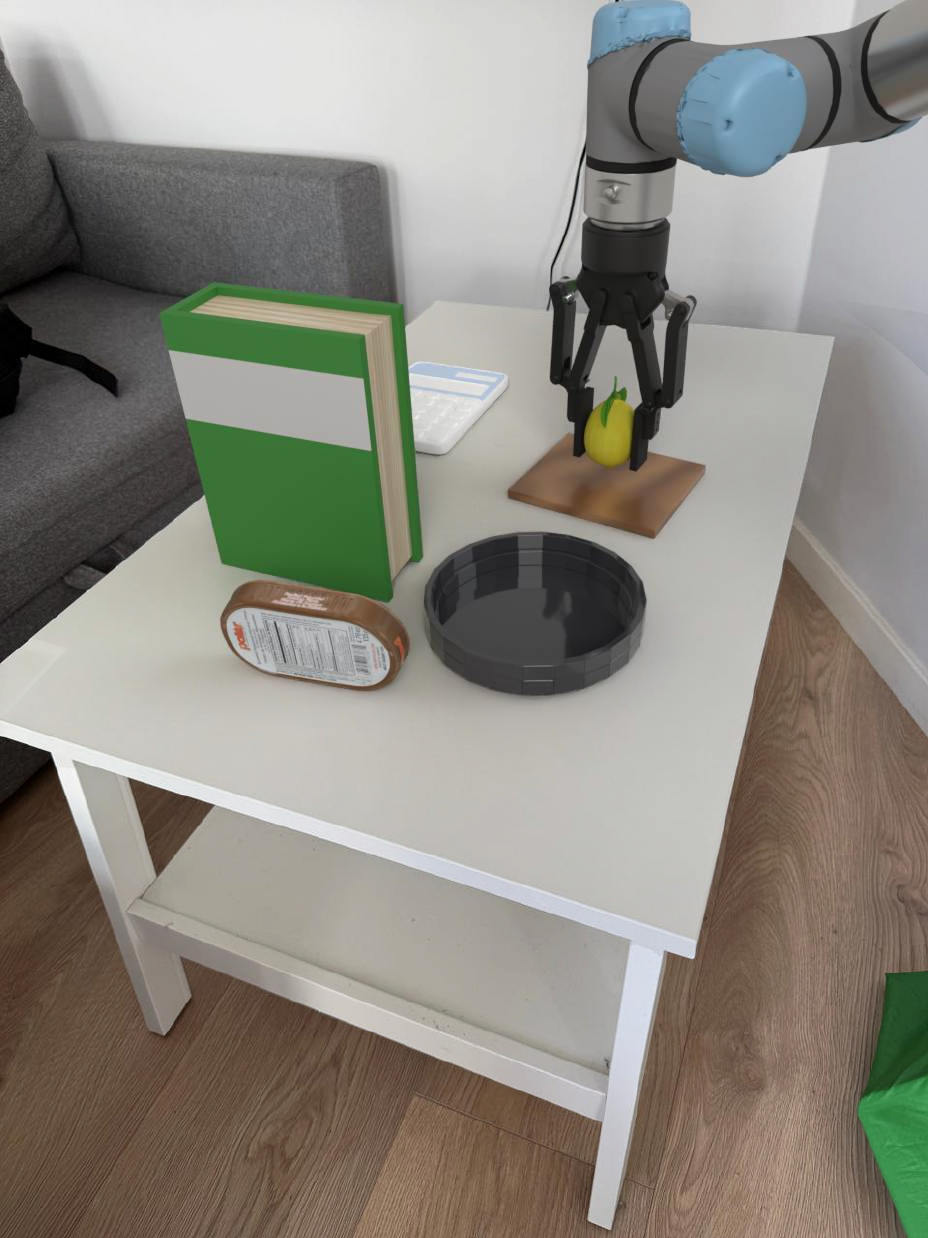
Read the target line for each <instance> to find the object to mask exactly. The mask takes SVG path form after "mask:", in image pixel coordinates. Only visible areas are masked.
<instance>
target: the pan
mask: <svg viewBox="0 0 928 1238" xmlns="http://www.w3.org/2000/svg"><path fill="white" fill-rule="evenodd" d="M647 601H648V600H647V594H646V590H645V584H644V582H643V580H642V579H641V577H640V575H639V574H638V572H637V571H636V570H635V568H634V567H633V565H632V564H630V563H629V562H628V561H627V560H625V559H624V558H623V557H622V556H620V555H619V554H618V553H616V552H615V551H614V550H611V549H609V548H607V547H606V546H603V545H602V544H600V543H597V542H595V541H592V540H588V539H585V538H582V537H577V536H575V535H571V534H566V533H557V532H550V531H515V532H509V533H503V534H498V535H491V536H488V537H486V538H483V539H480V540H477V541H475V542H471V543H468V544H466V545H464V546H463V547H461V548H459V549H458V550H456V551H454V552H453V553H451V554H449V555H447V556H446V558H444V559H443V561H441V562H440V563H439V564H438V565H437V566H436V567H435V568H434V569H433V570H432V572H431V575H430V576H429V578H428V580H427V582H426V584H425V586H424V594H423V612H424V613H423V615H424V624H425V625H424V627H425V633H426V637H427V638H428V642H429V645H430V648H431V650H432V651H433V652H434V653H435V655H436V656H437V657H438V658H439V660H441V662H442V663H443V664H444V666H445V667H447V668H448V669H450V670H451V671H453V672H454V673H456V674H458V675H459V676H460V677H461V678H463V679H465V680H466V681H469V682H471V683H473V684H477V685H479V686H481V687H484V688H486V689H490V690H492V691H496V692H500V693H504V694H509V695H510V694H511V695H517V696H533V697H535V696H537V697H539V696H553V695H561V694H567V693H572V692H575V691H579V690H582V689H586V688H587V687H590V686H593V685H595V684H598V683H599V682H602V681H604V680H607V679H609V678H611V677H612V676H613V675H615V673H617V672H618V671H620V670H622V668H624V667H625V666H626V665H627V664H629V662H630V661H631V659H632V658H633V657H634V655H635V654H636V652H637V651H638V650H639V648H640V646H641V644H642V638H643V633H644V628H645V621H646V610H647Z"/></svg>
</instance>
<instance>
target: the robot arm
mask: <svg viewBox="0 0 928 1238" xmlns="http://www.w3.org/2000/svg"><path fill="white" fill-rule="evenodd" d="M691 14H692V13H691V9H690V8H689V7H688V5H687V4H686V3H684V2H683V1H679V0H621V1H614V2H610V3H606V4H604V5H602V6H601V7H600V8H598V10H597V11H596V12H595V14H594V16H593V19H592V26H591V36H590V37H591V38H590V51H589V58H588V59H587V64H586V70H587V87H586V88H587V91H586V92H587V93H586V123H585V124H586V125H585V127H586V128H585V129H586V131H585V167H584V186H583V187H584V188H583V206H582V207H583V208H582V211H583V213H584V214H585V215H586V217H587V218H585V220H584V221H583V222H582V227H581V250H580V251H581V252H580V261H581V268H580V270H579V272H578V274H577V276H575V277H570V276H568V275H563V276H562V277H560V278H559V279H557V280H556V281H555V282H552V284H550V285H549V286H548V287H549V288H548V291H549V296H550V297H549V298H550V300H551V304H552V308H553V315H552V328H551V329H552V333H551V347H550V365H549V381H550V383H551V384H552V385H554V386H558V385H559V386H560V387H563V388H564V389H565V390H566V394H567V403H566V419H567V421H568V422H569V423H573V427H574V428H573V434H574V445H573V456H575V457H579V458H580V457H581V456H582V455H583V454H584V453H585V452H586V449H585V445H584V432H585V427H586V424H587V421H588V418H589V416H590V414H591V412H592V411H593V410H594V401H595V399H594V397H595V387H592V386H586V385H587V384H588V383H589V382H590V380H591V379H590V375H591V372H592V370H593V367H594V363H595V360H596V358H597V355H598V353H599V350H600V346H601V343H602V341H603V338H604V335H605V332H606V329H607V327H609V326H615V327H618V328H620V329H622V330H625V332H626V338H627V340H628V342H630V346H631V351H632V357H633V361H634V366H635V372H636V377H637V382H638V389H639V394H640V398H641V399H640V400H641V402H640V403H639V404H638V405H637V406H636V408H634V421H633V432H632V444H631V456H630V467H629V470H632V471H637V470H638V469H639V468H640V467H641V466H642V465H643V464H644V462H645V461H646V460H647V453H648V452H649V441H652V440H653V439H654V438H655V437H656V436H657V434H658V433H659V431H660V423H661V421H660V420H661V414H662V409H663V408H665V409H667V410H668V409H671V408H673V407H674V406H675V405H676V404H677V403H678V401H679V400H680V399H681V398H682V397H683V395H684V388H685V387H684V386H685V373H686V372H685V371H686V359H687V349H688V335H689V324H690V320H691V318H692V316H693V313H694V311H695V309H696V307H697V304H698V300H697V298H696V297H695V296H694V295H693V294H689V295H686V296H685V297H684V296H682V295H681V294H678V293H676V292H674V291H673V290H671V289H670V285H669V282H668V280H667V279H668V278H667V274H666V269H667V263H668V253H669V246H670V245H669V244H670V234H671V223H670V222H669V219H668V218H667V217H669V215H671V214H672V212H673V205H674V204H673V203H674V194H675V183H676V170H677V162H678V160H680V161H683V162H685V163H688V164H691V165H695V166H697V167H699V168H700V169H702V170H703V171H707V172H708V171H709V172H710V173H711V174H714V175H720V176H726V175H727V176H728V175H729V176H735V177H738V178H753V177H758V176H761V175H764V174H765V173H767V172H768V171H770V170H771V169H772V168H773V167H774V166H775V165H776V164H777V163H779V162H781V161H782V160H784V159H786V157H787V156H788V155H790V154H795V153H800V152H806V151H808V150H813V149H820V148H827V147H834V146H839V145H844V144H852V143H861V144H862V143H863V144H864V143H871V142H875V141H878V140H882V139H885V138H888V137H891V136H893V135H897V134H901V133H904V132H905V131H908V130H909V129H911V128H913V127H914V126H915V125H917V124H918V123H919V121H920V120H921V119H922V118H923V117H926V116H928V0H903V1H901V2H899V3H898V4H895V5H893V7H892V8H890V9H888V10H886V11H883V12H881V13H879V14H877V15H875V16H873V17H871V18H869V19H867V20H865V21H863V22H861V23H859V24H857V25H855V26H853V27H850V28H848V29H844V30H840V31H834V32H829V33H820V34H813V35H803V36H797V37H796V36H795V37H790V38H787V37H786V38H779V39H770V40H769V39H768V40H761V41H753V42H746V43H745V42H744V43H738V44H714V43H707V42H699V41H694V40H692V35H693V33H692V29H691V27H692V25H691V24H692V23H691V22H692V21H691V19H692V18H691V16H692V15H691ZM579 294H580V295H581V298H582V299H583V301H584V303H585V305H586V306H587V308H588V314H587V316H586V319H585V322H584V325H583V333H582V336H581V339H580V342H579V345H578V347H577V348H578V349H577V351H576V355H575V357H574V356H573V353H574V341H575V330H576V329H575V327H576V316H577V300H578V298H579V296H580V295H579ZM661 304H662V305H663V307H664V318H665V320H666V321H668V322H667V324H666V328H665V337H664V338H665V340H664V354H663V368H662V369H663V370H662V375H661V369H660V364H659V363H660V362H659V357H658V352H657V346H656V341H655V334H654V331H655V320H654V312H655V311H656V310H657V309H658V307H659V306H660V305H661ZM573 357H574V361H573Z"/></svg>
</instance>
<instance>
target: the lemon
mask: <svg viewBox="0 0 928 1238" xmlns="http://www.w3.org/2000/svg"><path fill="white" fill-rule="evenodd" d="M613 380H614V381H613V382H614V383H613V389H612V391H611V392H610V395H609V396H608V397H607V398H606V399H605V400H603V401H601V402H600V403H599V404H598V405H596V406H595V407H593V411H592V412H591V414H590V416H589V418H588V421H587V424H586V427H585V432H584V445H585V449H586V452H587V455H588V457H589V458H590V459H591V460H592V461H594V462H595V463H597V464H599V465H602V466H605V467H606V468H609V469H612V468H614V467H615V466H618V465H620V464H623V463H625V462H626V461H628V460H629V459H630V456H631V444H632V432H633V421H634V410H635V408H633V407H632V406H631V404H629V403H628V402H626V401H627V397H628V390H627V388H626V386H623V387H622V388H621V389H619V390H618V391H617V385H618V377H617V375H614V379H613Z"/></svg>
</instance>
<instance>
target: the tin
mask: <svg viewBox="0 0 928 1238" xmlns="http://www.w3.org/2000/svg"><path fill="white" fill-rule="evenodd" d="M219 622H220V630H221V633H222V635H223V638H224V640H225V642H226V644H227V645H228V648H229V649H230V651H231V652H232V653H233V655H235V656H236V657H237V658H238V659H240V660H241V661H242V662H243V663H245V664H246V665H247V666H249V667H251V668H252V669H254V670H257V671H259V672H261V673H263V674H266V675H269V676H274V677H278V678H285V679H290V680H295V681H302V682H306V683H312V684H318V685H324V686H329V687H334V688H341V689H347V690H353V691H361V692H363V691H364V692H371V691H377V690H380V689H382V688H385V687H387V686H388V685H390V684H391V683H392V682H393V681H394V680H395V679H396V677H397V676H398V674H399V672H400V670H401V668H402V666H403V664H404V662H405V661H406V659H407V658H408V655H409V653H410V648H411V647H410V646H411V644H410V643H411V642H410V637H409V634H408V631H407V629H406V627H405V626H404V624H403V622H402V621H401V619H400V618H399V617H398V616H397V615H396V614H395V613H394V612H393V611H392V610H390V608H388V607H387V606H385V605H384V604H382V603H380V602H379V601H378V600H376V599H371V598H368V597H365V596H362V595H358V594H353V593H347V592H341V591H337V590H333V589H328V588H321V587H313V586H306V585H301V584H300V585H299V584H294V583H287V582H281V581H275V580H267V579H256V580H254V579H253V580H250V581H247V582H245V583H242V584H240V585H239V586H238V587H237V588H235V590H234V591H233V593H232V595H231V597H230V599H229V601H228V602H227V604H226V605H225V607H224V609H223V611H222V612H221V615H220V618H219Z"/></svg>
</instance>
